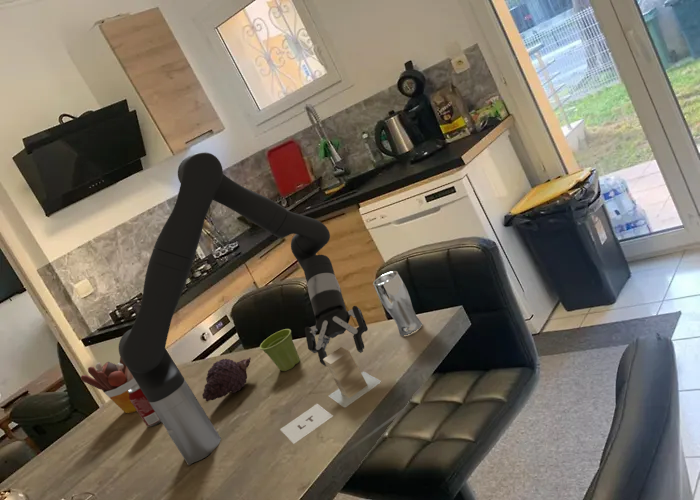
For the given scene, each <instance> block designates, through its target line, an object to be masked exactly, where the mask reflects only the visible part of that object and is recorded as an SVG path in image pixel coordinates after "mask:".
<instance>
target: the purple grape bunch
mask: <svg viewBox="0 0 700 500" xmlns="http://www.w3.org/2000/svg"><path fill="white" fill-rule="evenodd" d="M250 363H251V357H249V358H246V359H243V360H239V361H237V362H236V361H234V360H233V359H230V358H229V359H228V358H225V359H224V358H222V359H219V361H215V362H214V363H213V364H212V366H211V367H210V368H209V369H208V370H207V375H206V377H205V381H206V383H205V384H204V388H203V393H202V399H203V400H205V401H206V402H207V403H208V402H209V401H214V400H216V399H220V398H223V397H226V396H227V395H228V394H230V393H232V394H235V393H237V392H239V391H240V390H242V388H244V387H245V385H246V384H247V379H248V374H247V368H249V366H250Z"/></svg>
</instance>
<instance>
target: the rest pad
mask: <svg viewBox="0 0 700 500" xmlns="http://www.w3.org/2000/svg"><path fill="white" fill-rule="evenodd" d="M361 374H362V376H363V377H364V379H365V381H366V383H367V385H368V386H366V387H365V388H363V389H362V390H360V391H359V392H357V393H356V394H355V395H353V396H352V397H350V398H348V397H347V396H345V395H344V394H343V393H341V391H340V390H339V388H337V389H335V390H334V392H331V393H330V394H329V395H328V397H329V398H331V399H332V400H333V401H334V402H336V403H337V404H338V405H340V406H341V407H343V408H347V407H348V406H349V405H351V404H353V403H354V402H355V401H357V400H358V399H359V398H361V397H362V396H364V395H365V394H367V393H368V392H370V391H371V390H372V389H374V388H375V387H377V386H378V385H379V384H381V383H382V382H381V381H382V380H380V379H378V378H377V377H375V376H372V375H371V374H369V373H368V372H366V371H362V372H361ZM380 382H381V383H380Z"/></svg>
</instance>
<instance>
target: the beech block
mask: <svg viewBox="0 0 700 500" xmlns="http://www.w3.org/2000/svg"><path fill="white" fill-rule="evenodd" d="M323 360H324V362H325V364H326V366H327V367H326V366H325V367H326V368H327V369H328V372H329V374H330V375H331V377H332V379H333V380H334V383H336V385H337V389H339V390H340V391H341V393H343V394H344V395H345V396H347V397H348V398H350V397H352V396H353V395H355V394H356V393H357V392H359V391H360V390H362V389H363V388H365V387H366V386H368V385H367V383H366V381H365V379H364V377H363V376H362V374H361V373H362V372H361V370H360V368H359V366H358V364H357V363H356V361H355V359H354V357H353V355H352V353H351V351H349V350H347V349H346V348H344V347H342V346H341V347H339V348H337V349H336V350H334V351H333V352H332V353H330V354H327V357H325V358H324V359H323Z"/></svg>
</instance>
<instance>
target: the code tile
mask: <svg viewBox="0 0 700 500" xmlns="http://www.w3.org/2000/svg"><path fill="white" fill-rule="evenodd" d="M333 417H334V415H333V414H331V412H329V411H327V410H326V409H325V408H324V407H322V406H321V405H320V404H319V403H315V404H314V405H313V406H312V407H310V408H309V409H307V410H306V411H304V412H302V413H301V414H300V415H299V416H297V417H296V418H294V419H292V420H291V421H290V422H288V423H287V424H286V425H284V426H283V427H281V428H279V430H280V432H281V433H283V434H284V436H285V437H287V439H288V440H289V441H290V442H291V443H292V444H293V445H295V444H296V443H298V442H299V441H301V440H302V439H303V438H304V437H306V436H307V435H308V434H310V433H312V432H313V431H314V430H316V429H317V428H319V427H320V426H322V425H323V424H325V423H326V422H327V421H328V420H330V419H331V418H333Z"/></svg>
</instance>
